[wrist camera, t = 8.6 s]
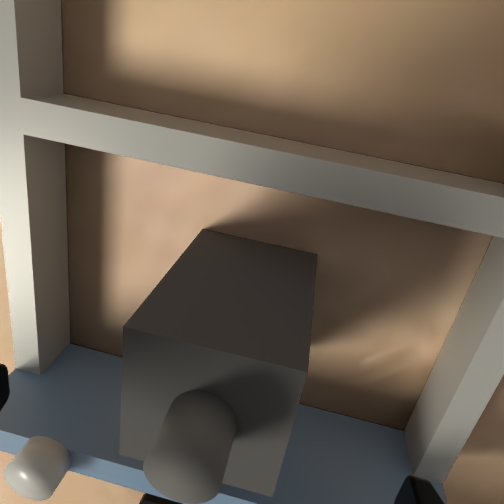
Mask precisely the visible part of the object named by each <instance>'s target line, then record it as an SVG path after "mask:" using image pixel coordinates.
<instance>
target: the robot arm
mask: <svg viewBox="0 0 504 504" xmlns="http://www.w3.org/2000/svg"><path fill="white" fill-rule="evenodd" d="M9 395H10V386H9V377H8V370H7V367H6V366H5V365H4V364H0V411H1V410H2V408H3V407H4V405H5V404H6V402H7V400H8V398H9ZM139 504H182V503H179V502H175V501H172V500H169V499H165V498H162V497H158V496H155V495H151V494H148V493H145V494H144V495H143V497H142V499H141V501H140V503H139ZM394 504H445V503H444V501H443V500H442V498H441V497H440V495H439V494H438V493H437V491H436V490H435V488H434V487H433V485H432V484H431V482H430V481H428V480H427V479H425V478H421V477H417V476H414V475H408V476H407V477H406V478H405V480H404V482H403V484H402V486H401V488H400V490H399V492H398V494H397V496H396V498H395V501H394Z"/></svg>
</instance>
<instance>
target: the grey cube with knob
mask: <svg viewBox="0 0 504 504" xmlns="http://www.w3.org/2000/svg"><path fill="white" fill-rule="evenodd" d="M316 263H317V254H313V253H309V252H304V251H300V250H295V249H291V248H286V247H281V246H277V245H272V244H268V243H263V242H259V241H254V240H250V239H245V238H241V237H236V236H232V235H227V234H223V233H218V232H213V231H209V230H204V229H202V230H201V232H200V233H199V234H198V235H197V237H196V238H195V239H194V240H193V242H192V243H191V244H190V245H189V247H188V248H187V249H186V250H185V251H184V253H183V254H182V255H181V256H180V258H179V259H178V260H177V261H176V263H175V264H174V265H173V266H172V267H171V269H170V270H169V271H168V272H167V274H166V275H165V276H164V277H163V279H162V280H161V281H160V282H159V283H158V285H157V286H156V287H155V288H154V290H153V291H152V292H151V293H150V295H149V296H148V297H147V298H146V299H145V301H144V302H143V303H142V304H141V306H140V307H139V308H138V309H137V311H136V312H135V313H134V314H133V316H132V317H131V318H130V319H129V320H128V322H127V323H126V324H125V325H124V327H123V354H122V386H121V417H120V448H119V455H123V456H126V457H130V458H134V459H137V460H141V461H144V464H143V469H144V474H145V476H146V478H147V480H148V481H149V483H150V484H151V485H152V486H153V487H154V488H155V489H156V490H157V491H158V492H159V493H161V494H162V495H164V496H166V497H168V498H170V499H172V500H175V501H178V502H182V503H187V504H200V503H205V502H208V501H210V500H212V499H213V498H214V497H216V496H217V494H218V493H219V491H220V489H221V485H222V483H223V484H227V485H230V486H234V487H238V488H241V489H245V490H248V491H252V492H255V493H259V494H263V495H266V496H270V497H273V494H274V490H275V487H276V483H277V480H278V476H279V473H280V469H281V466H282V462H283V459H284V455H285V451H286V448H287V444H288V441H289V437H290V434H291V430H292V427H293V423H294V420H295V416H296V412H297V409H298V405H299V402H300V398H301V395H302V391H303V388H304V384H305V381H306V377H307V373H308V363H309V351H310V338H311V326H312V313H313V301H314V288H315V276H316Z"/></svg>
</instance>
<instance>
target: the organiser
mask: <svg viewBox="0 0 504 504" xmlns="http://www.w3.org/2000/svg"><path fill="white" fill-rule="evenodd" d="M65 143H66V144H70V145H75V146H79V147H84V148H89V149H93V150H98V151H103V152H107V153H112V154H116V155H121V156H126V157H130V158H135V159H140V160H144V161H149V162H153V163H158V164H163V165H167V166H172V167H177V168H181V169H186V170H190V171H195V172H200V173H204V174H209V175H214V176H218V177H223V178H227V179H232V180H237V181H241V182H246V183H251V184H255V185H260V186H264V187H269V188H274V189H278V190H283V191H288V192H292V193H297V194H301V195H306V196H311V197H315V198H320V199H325V200H329V201H334V202H338V203H343V204H348V205H352V206H357V207H362V208H366V209H371V210H375V211H380V212H385V213H389V214H394V215H399V216H403V217H408V218H412V219H417V220H422V221H426V222H431V223H436V224H440V225H445V226H449V227H454V228H459V229H463V230H468V231H473V232H477V233H482V234H486V235H491V236H493V239H492V241H491V243H490V245H489V247H488V249H487V252H486V254H485V256H484V258H483V260H482V262H481V265H480V267H479V269H478V271H477V273H476V275H475V278H474V280H473V282H472V284H471V286H470V288H469V291H468V293H467V295H466V297H465V299H464V301H463V304H462V306H461V308H460V310H459V312H458V315H457V317H456V319H455V321H454V323H453V325H452V328H451V330H450V332H449V334H448V336H447V338H446V341H445V343H444V345H443V347H442V349H441V351H440V354H439V356H438V358H437V360H436V362H435V364H434V367H433V369H432V371H431V373H430V375H429V378H428V380H427V382H426V384H425V386H424V388H423V391H422V393H421V395H420V397H419V399H418V401H417V404H416V406H415V408H414V410H413V412H412V414H411V417H410V419H409V421H408V423H407V425H406V427H405V430H404V431H401V430H398V429H394V428H390V427H386V426H382V425H379V424H375V423H371V422H367V421H363V420H360V419H356V418H352V417H348V416H344V415H340V414H337V413H333V412H329V411H325V410H321V409H318V408H314V407H310V406H306V405H302V404H299V405H298V409H297V412H296V416H295V420H294V423H293V427H292V430H291V434H290V437H289V441H288V444H287V448H286V451H285V455H284V459H283V462H282V466H281V469H280V473H279V476H278V480H277V483H276V487H275V490H274V494H273V497H270V496H266V495H263V494H259V493H255V492H252V491H248V490H245V489H241V488H238V487H234V486H230V485H227V484H223V483H222V485H221V489H220V491H219V493H218V494H217V496H216V497H214V498H213V499H212V500H210V501H208V502H205V503H200V504H394V501H395V498H396V496H397V494H398V492H399V490H400V488H401V486H402V484H403V482H404V480H405V478H406V477H407V476H408V475H414V476H417V477H421V478H425V479H427V480H428V481H430V482H431V484H432V485H433V487H434V488H435V490H436V491H437V493H438V494H439V495H440V497H441V498H442V500H443V501H444V503H445V504H447V501H446V498H445V494H444V490H443V486H442V484H443V482H444V480H445V478H446V477H447V475H448V473H449V471H450V469H451V468H452V466H453V464H454V462H455V460H456V459H457V457H458V455H459V453H460V452H461V450H462V448H463V446H464V444H465V443H466V441H467V439H468V437H469V436H470V434H471V432H472V430H473V428H474V427H475V425H476V423H477V421H478V419H479V418H480V416H481V414H482V412H483V411H484V409H485V407H486V405H487V403H488V402H489V400H490V398H491V396H492V395H493V393H494V391H495V389H496V387H497V386H498V384H499V382H500V380H501V378H502V377H503V375H504V184H503V183H498V182H493V181H488V180H483V179H478V178H473V177H469V176H464V175H459V174H454V173H449V172H444V171H439V170H434V169H429V168H425V167H420V166H415V165H410V164H405V163H400V162H395V161H390V160H385V159H381V158H376V157H371V156H366V155H361V154H356V153H351V152H346V151H342V150H337V149H332V148H327V147H322V146H317V145H312V144H307V143H302V142H298V141H293V140H288V139H283V138H278V137H273V136H268V135H263V134H259V133H254V132H249V131H244V130H239V129H234V128H229V127H224V126H219V125H215V124H210V123H205V122H200V121H195V120H190V119H185V118H180V117H176V116H171V115H166V114H161V113H156V112H151V111H146V110H141V109H136V108H132V107H127V106H122V105H117V104H112V103H107V102H102V101H97V100H92V99H88V98H83V97H78V96H73V95H68V94H64V93H63V56H62V19H61V0H0V220H1V230H2V240H3V250H4V260H5V270H6V279H7V289H8V299H9V309H10V319H11V329H12V338H13V348H14V358H15V368H16V369H15V370H14V371H13V372H12V373H11V374H10V375H9V376H8V377H9V386H10V395H9V398H8V400H7V402H6V404H5V405H4V407H3V408H2V410H1V411H0V451H4V452H7V453H11V454H14V455H16V456H15V457H14V458H13V459H12V461H11V462H10V463H9V464H8V465H7V467H6V468H5V470H4V478H5V480H6V482H7V484H8V485H9V486H10V487H11V488H12V489H13V490H14V491H15V492H17V493H18V494H20V495H21V496H23V497H25V498H28V499H31V500H37V501H42V500H46V499H48V498H50V497H51V495H52V494H53V492H54V491H55V489H56V488H57V486H58V485H59V483H60V482H61V480H62V479H63V477H64V476H65V474H66V473H67V471H68V470H69V471H72V472H76V473H79V474H83V475H86V476H90V477H93V478H96V479H100V480H103V481H107V482H110V483H114V484H117V485H120V486H124V487H127V488H131V489H134V490H138V491H141V492H144V493H148V494H151V495H155V496H158V497H162V498H165V499H169V500H172V499H170V498H168V497H166V496H164V495H162V494H161V493H159V492H158V491H157V490H156V489H155V488H154V487H153V486H152V485H151V484H150V483H149V481H148V480H147V478H146V476H145V474H144V469H143V464H144V461H141V460H137V459H134V458H130V457H126V456H123V455H119V448H120V417H121V386H122V357H119V356H115V355H111V354H108V353H104V352H100V351H96V350H92V349H89V348H85V347H81V346H77V345H73V344H70V315H69V278H68V241H67V204H66V167H65ZM172 501H175V500H172ZM175 502H178V501H175ZM179 503H182V502H179ZM182 504H187V503H182Z"/></svg>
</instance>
